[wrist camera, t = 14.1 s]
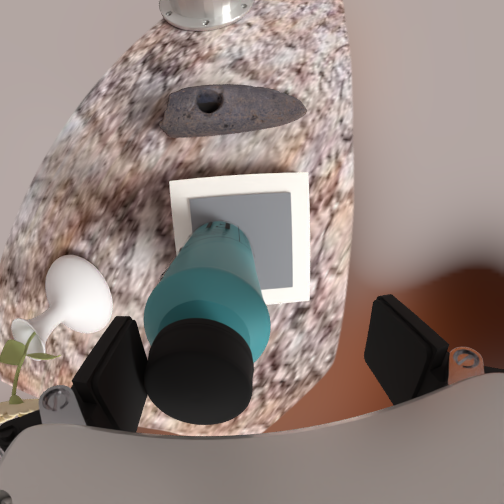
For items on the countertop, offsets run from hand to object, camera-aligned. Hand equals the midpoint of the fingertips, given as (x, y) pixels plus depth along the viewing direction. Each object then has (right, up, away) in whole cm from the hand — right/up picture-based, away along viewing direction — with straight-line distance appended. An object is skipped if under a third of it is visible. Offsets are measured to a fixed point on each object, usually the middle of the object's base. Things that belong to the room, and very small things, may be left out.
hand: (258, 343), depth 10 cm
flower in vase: (-23, -2, +23) cm, 32 cm away
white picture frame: (-1, +5, +22) cm, 23 cm away
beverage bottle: (-3, +4, +18) cm, 18 cm away
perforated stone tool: (-2, +19, +19) cm, 27 cm away
